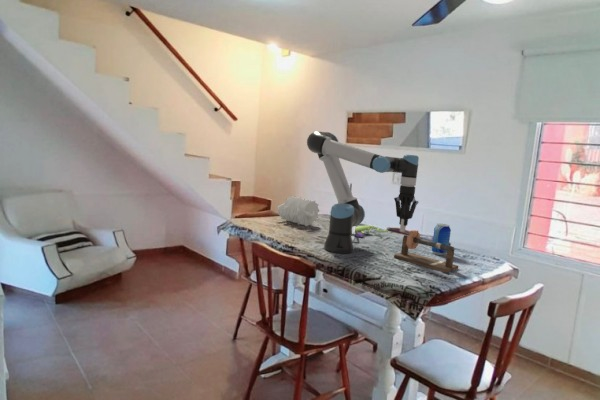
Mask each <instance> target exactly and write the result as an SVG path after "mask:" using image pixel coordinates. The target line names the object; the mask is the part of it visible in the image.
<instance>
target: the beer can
mask: <svg viewBox="0 0 600 400" xmlns="http://www.w3.org/2000/svg"><path fill="white" fill-rule="evenodd" d="M451 231H452V230H451V227H450V224H446V223H436V226H435V227H434V229H433V237H432V242H435V243H441V244H444V245H448V246H450V238H451ZM431 252H432V254H433V255H438V256H447V250H443V249H437V248H435V247H431Z"/></svg>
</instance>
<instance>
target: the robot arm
mask: <svg viewBox="0 0 600 400" xmlns="http://www.w3.org/2000/svg"><path fill="white" fill-rule="evenodd" d="M306 146H307V148H308V150H309V151H311V152H312V153H315V154H317V156H318V159H319V161H321V162H322V163H323V165H324V167H325V170H326V173H327V176H328V178H329V180H330V183H331V186H332V189H333V193H334V195H335V197H336V199H337V203H335V204H333V205H332V206H331V209H330V215H329V216H330V217H329V230H328V235H327V237H326V239H325V242H324V244H323V250H326V251H328V252H330V253H336V254H338V253H339V254H350V253H353V252H354V245H353V238H352V235H353V234H352V228H354V227H358V225H359V226H360V224H361V223H362V222H363V221H364V219H365V217H366V216H365V215H366V212H365V209H364V207H363V206H362V205H360V203H359V201H358V199H357V198H356V197H354V196H353V193H352V190H351V188H350V185H349V183H348V180H347V177H346V173H345V172H344V169H343V166H342V163H341V161H340V159H341V160H345V161H347V162H350V163H354V164H356V165H359V166H362V167H366V168H368V169H371V170H374V171H375V172H377V173H381V174H383V173H399V174H401V176H400V186H399V194H398V196H397V197H394V198H393V199H394V202H395V211H396V212H395V214H396V217H398V218H399V222H398V224H399V225H400V226H399V232H400V233H405V232H406V228H407V227H406V226H408V223H409V220H411V219H412V218H413V216H414V214H415V210H416V208H417V205H418V204H419V200H417V199H416V198H415V195H416V194H415V193H416V187H415V186H416V184H417V177H418V170H419V161H420V159H419V156H418V155H415V154H414V155H413V154H403V157H394V156H384V155H381V154H377V153H374V152H370V151H367V150H366V149H360V148H358V147H355V146H352V145H350V144H349V145H348V144H346V143H342V142H339V139H338V137H337V136H336V135H335V134H334V133H331V132H328V131H320V130H318V131H314V132H312V133H310V134H309V135H308V137H307V140H306Z"/></svg>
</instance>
